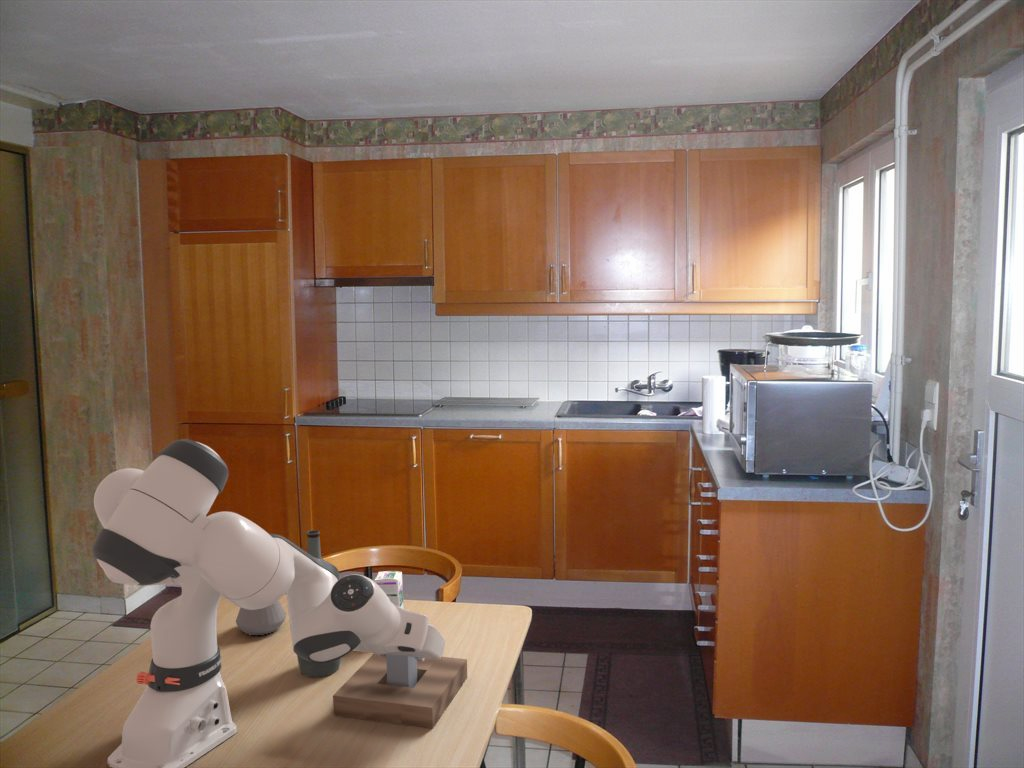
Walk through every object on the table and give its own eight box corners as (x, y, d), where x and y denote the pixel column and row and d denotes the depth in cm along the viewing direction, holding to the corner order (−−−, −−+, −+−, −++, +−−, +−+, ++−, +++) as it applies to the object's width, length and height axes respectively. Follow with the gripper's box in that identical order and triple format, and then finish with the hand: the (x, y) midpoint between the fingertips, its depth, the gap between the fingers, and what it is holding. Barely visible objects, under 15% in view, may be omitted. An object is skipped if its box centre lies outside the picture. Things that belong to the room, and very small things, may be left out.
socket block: (433, 728, 151) (432, 707, 150) (333, 715, 156) (332, 695, 156) (467, 677, 170) (466, 659, 169) (378, 667, 175) (377, 649, 175)
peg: (409, 702, 160) (407, 654, 159) (387, 700, 161) (386, 651, 160) (417, 691, 164) (416, 644, 163) (397, 689, 166) (395, 641, 164)
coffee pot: (231, 641, 190) (227, 578, 188) (242, 620, 202) (239, 561, 200) (324, 635, 192) (321, 573, 190) (331, 616, 203) (328, 557, 201)
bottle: (288, 673, 173) (280, 535, 170) (316, 655, 182) (309, 523, 178) (324, 682, 169) (317, 540, 166) (351, 663, 178) (344, 528, 174)
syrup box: (401, 640, 189) (399, 579, 187) (376, 640, 189) (373, 579, 187) (405, 629, 194) (403, 570, 193) (380, 630, 194) (377, 570, 193)
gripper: (324, 639, 153) (350, 665, 163) (427, 650, 147) (447, 676, 158) (334, 607, 157) (359, 634, 167) (435, 616, 151) (454, 644, 162)
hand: (403, 655), depth 163 cm, fingers open, 6 cm apart
